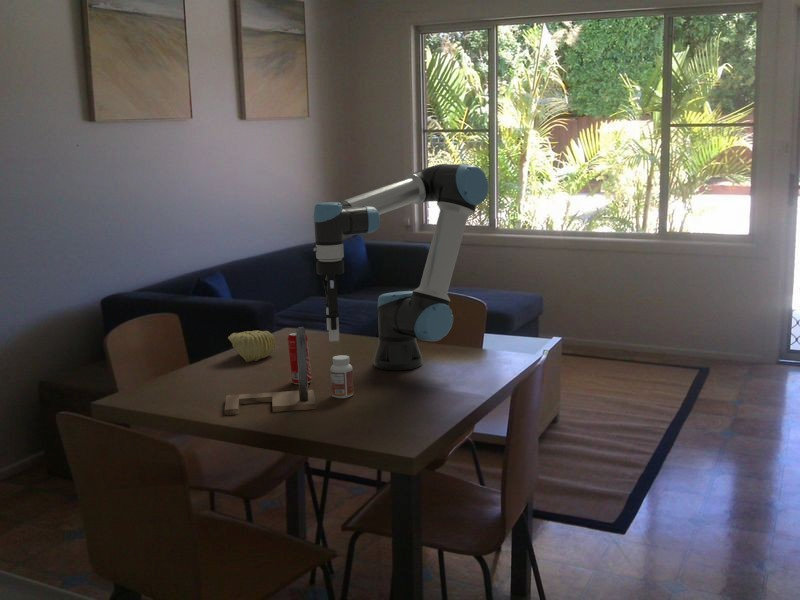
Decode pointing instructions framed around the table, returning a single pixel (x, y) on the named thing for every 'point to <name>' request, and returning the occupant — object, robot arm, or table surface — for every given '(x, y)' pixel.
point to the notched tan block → (278, 399)
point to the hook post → (302, 364)
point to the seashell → (253, 344)
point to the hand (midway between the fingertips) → (333, 335)
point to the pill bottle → (341, 377)
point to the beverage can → (293, 358)
